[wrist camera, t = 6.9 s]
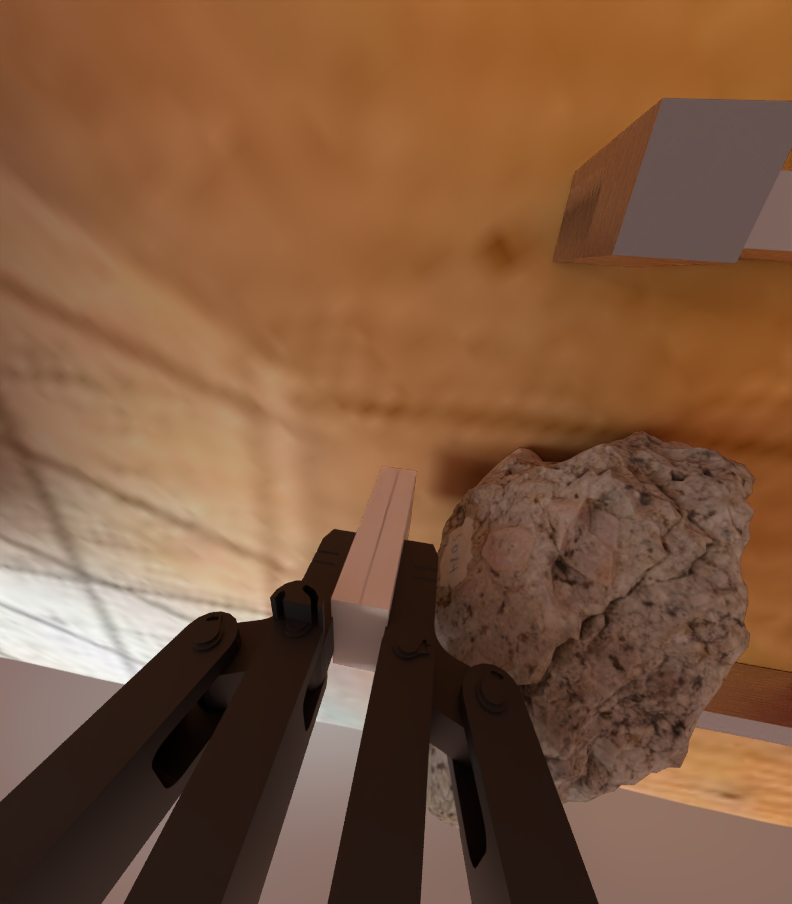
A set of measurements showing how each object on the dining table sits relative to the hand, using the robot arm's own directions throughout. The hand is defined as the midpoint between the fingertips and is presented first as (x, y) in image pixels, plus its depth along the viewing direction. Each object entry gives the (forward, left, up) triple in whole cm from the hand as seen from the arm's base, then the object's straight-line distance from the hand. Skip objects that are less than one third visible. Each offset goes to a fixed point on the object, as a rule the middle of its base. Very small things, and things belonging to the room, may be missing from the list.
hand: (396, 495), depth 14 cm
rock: (+6, -1, -2) cm, 7 cm away
